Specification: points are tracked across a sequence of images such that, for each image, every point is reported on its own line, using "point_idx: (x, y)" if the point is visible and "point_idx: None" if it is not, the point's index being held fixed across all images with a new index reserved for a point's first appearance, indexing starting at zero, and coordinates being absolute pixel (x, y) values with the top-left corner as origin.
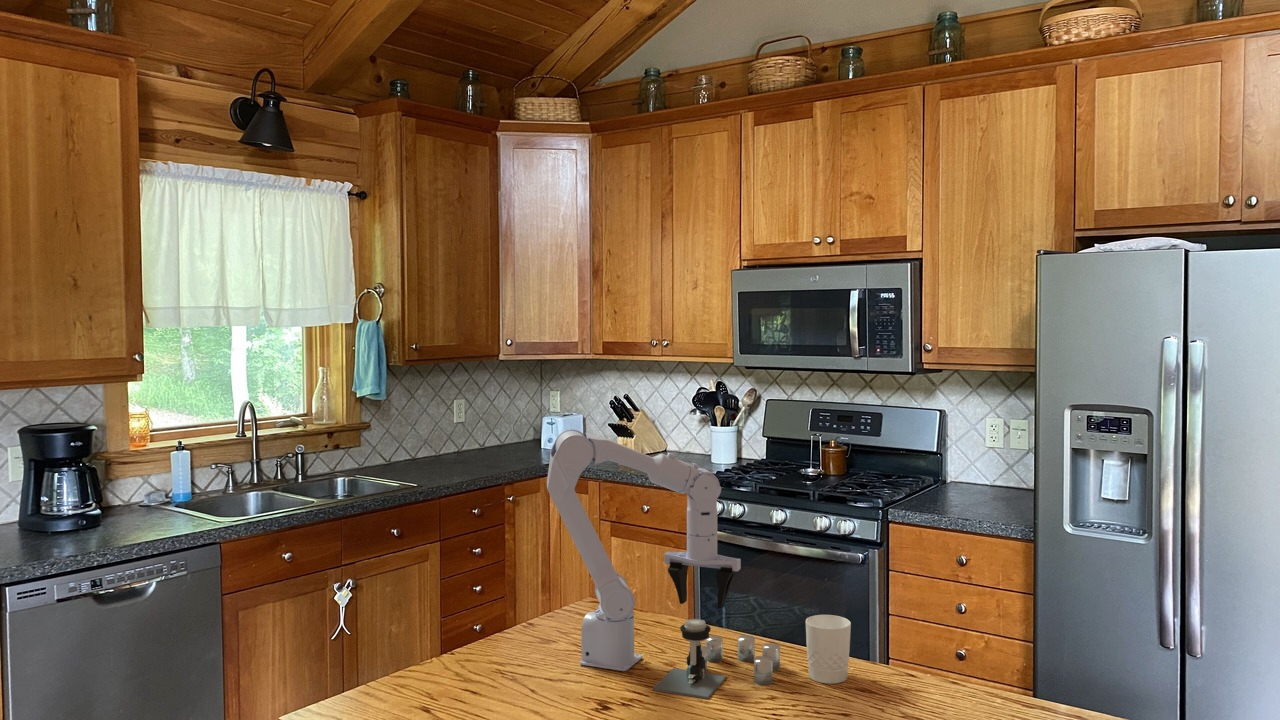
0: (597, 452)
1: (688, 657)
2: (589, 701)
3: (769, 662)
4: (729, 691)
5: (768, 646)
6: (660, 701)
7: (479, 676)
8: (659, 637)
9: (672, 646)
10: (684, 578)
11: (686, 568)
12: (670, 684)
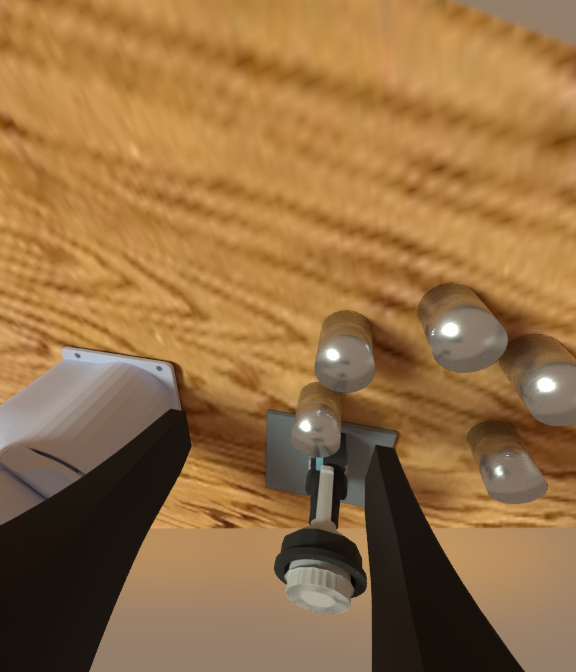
0: None
1: (310, 493)
2: (197, 512)
3: (533, 499)
4: (409, 478)
5: (555, 406)
6: (294, 510)
7: None
8: (121, 192)
9: (198, 264)
10: (103, 548)
11: (32, 608)
12: (290, 475)
